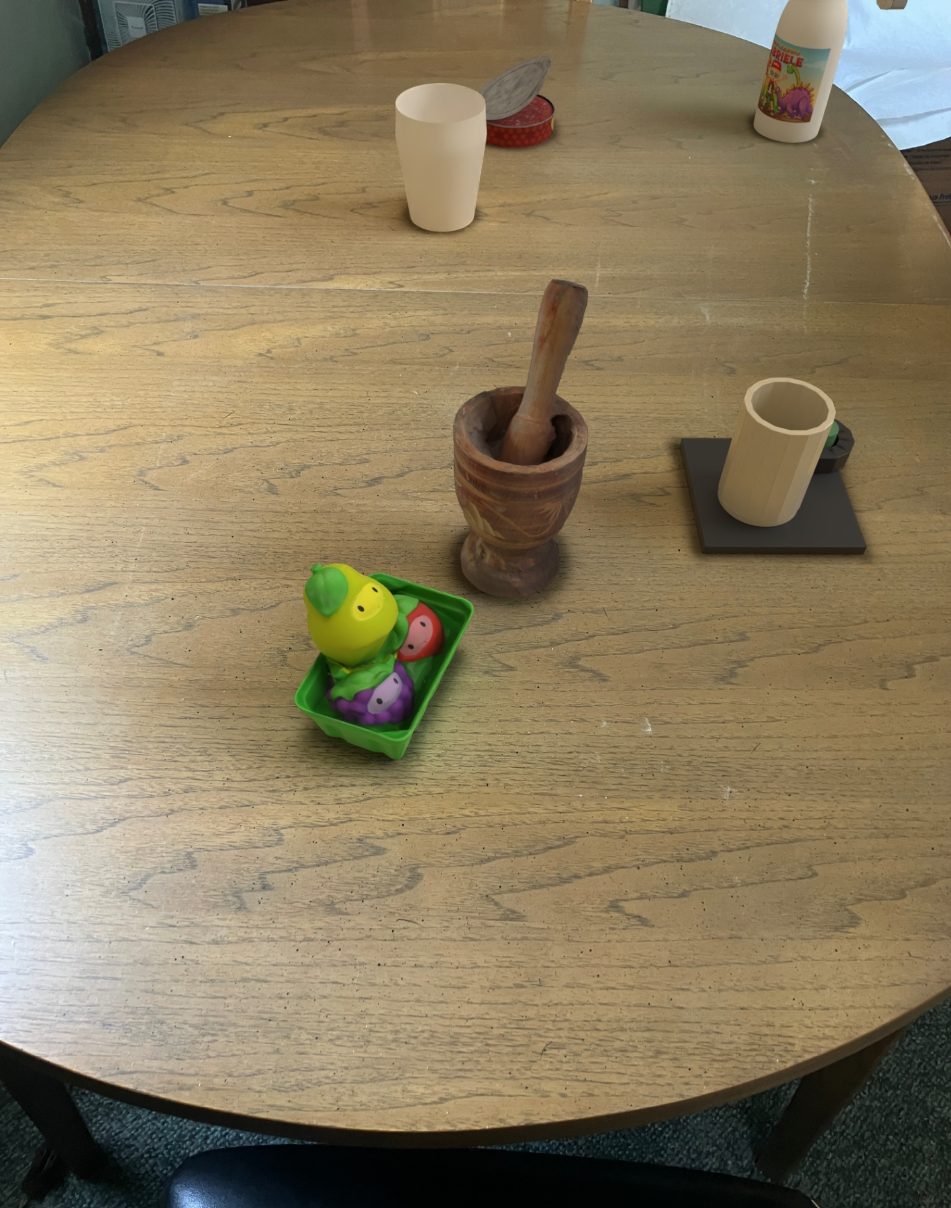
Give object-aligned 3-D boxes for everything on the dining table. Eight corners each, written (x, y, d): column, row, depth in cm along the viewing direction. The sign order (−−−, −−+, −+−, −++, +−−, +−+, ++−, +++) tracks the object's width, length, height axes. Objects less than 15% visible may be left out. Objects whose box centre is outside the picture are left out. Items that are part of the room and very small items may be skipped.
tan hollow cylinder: (789, 470, 75) (823, 377, 68) (807, 527, 71) (845, 435, 64) (711, 469, 75) (737, 376, 68) (724, 527, 71) (753, 434, 64)
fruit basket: (409, 787, 58) (400, 684, 50) (282, 740, 60) (252, 633, 52) (477, 649, 65) (480, 536, 56) (360, 611, 67) (346, 496, 58)
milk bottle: (779, 112, 118) (827, -79, 102) (830, 135, 114) (888, -60, 99) (738, 130, 115) (782, -65, 99) (789, 154, 111) (843, -44, 95)
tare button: (829, 429, 76) (835, 416, 75) (837, 449, 75) (842, 436, 74) (800, 429, 76) (804, 415, 75) (806, 449, 75) (811, 436, 74)
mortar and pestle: (462, 490, 75) (464, 259, 59) (572, 498, 74) (602, 268, 59) (447, 603, 68) (445, 374, 52) (568, 612, 67) (602, 385, 52)
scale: (833, 442, 79) (844, 414, 77) (876, 559, 71) (890, 532, 68) (676, 441, 79) (682, 412, 77) (701, 559, 71) (709, 531, 68)
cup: (385, 210, 102) (378, 92, 92) (461, 191, 104) (461, 75, 95) (421, 251, 97) (418, 131, 87) (499, 230, 99) (504, 112, 90)
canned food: (530, 190, 114) (521, 133, 104) (459, 158, 116) (445, 100, 107) (577, 115, 115) (573, 51, 105) (506, 85, 117) (496, 21, 108)
